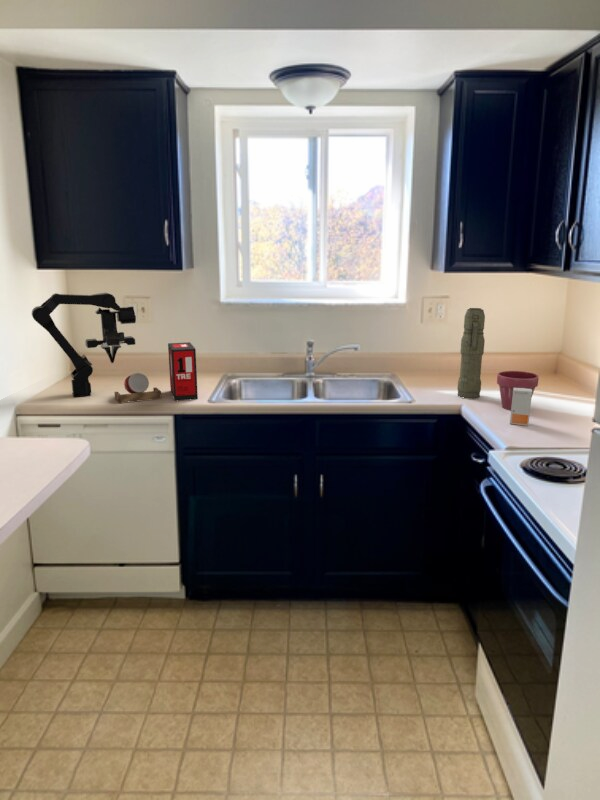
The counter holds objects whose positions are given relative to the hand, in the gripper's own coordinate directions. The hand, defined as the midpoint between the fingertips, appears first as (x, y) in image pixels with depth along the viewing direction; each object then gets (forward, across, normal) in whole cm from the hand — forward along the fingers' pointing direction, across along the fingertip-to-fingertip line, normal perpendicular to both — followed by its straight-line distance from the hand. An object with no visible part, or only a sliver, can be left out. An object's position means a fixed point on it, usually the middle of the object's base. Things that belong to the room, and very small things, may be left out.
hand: (112, 362), depth 236 cm
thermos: (+12, +125, -73) cm, 145 cm away
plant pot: (+12, +128, -94) cm, 159 cm away
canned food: (+8, +6, -8) cm, 13 cm away
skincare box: (+12, +114, -109) cm, 158 cm away
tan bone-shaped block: (+12, +6, -17) cm, 21 cm away
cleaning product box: (+12, +24, -19) cm, 33 cm away
